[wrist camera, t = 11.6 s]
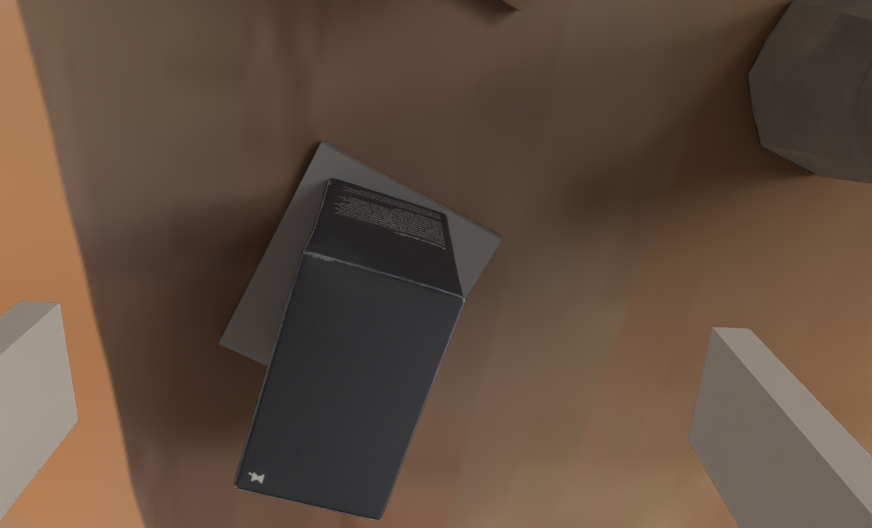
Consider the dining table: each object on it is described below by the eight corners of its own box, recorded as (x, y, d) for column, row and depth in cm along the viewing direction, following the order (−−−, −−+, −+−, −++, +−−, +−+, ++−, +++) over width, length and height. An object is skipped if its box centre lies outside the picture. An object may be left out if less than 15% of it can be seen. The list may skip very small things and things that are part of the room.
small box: (391, 392, 38) (385, 532, 28) (272, 360, 37) (223, 493, 27) (456, 213, 34) (474, 302, 25) (326, 173, 33) (293, 248, 24)
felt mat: (501, 236, 36) (502, 240, 35) (388, 415, 39) (388, 421, 39) (322, 140, 33) (320, 142, 33) (221, 338, 37) (218, 344, 36)
